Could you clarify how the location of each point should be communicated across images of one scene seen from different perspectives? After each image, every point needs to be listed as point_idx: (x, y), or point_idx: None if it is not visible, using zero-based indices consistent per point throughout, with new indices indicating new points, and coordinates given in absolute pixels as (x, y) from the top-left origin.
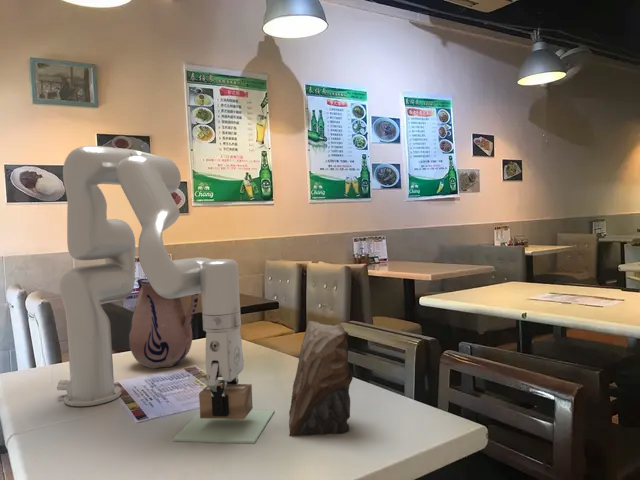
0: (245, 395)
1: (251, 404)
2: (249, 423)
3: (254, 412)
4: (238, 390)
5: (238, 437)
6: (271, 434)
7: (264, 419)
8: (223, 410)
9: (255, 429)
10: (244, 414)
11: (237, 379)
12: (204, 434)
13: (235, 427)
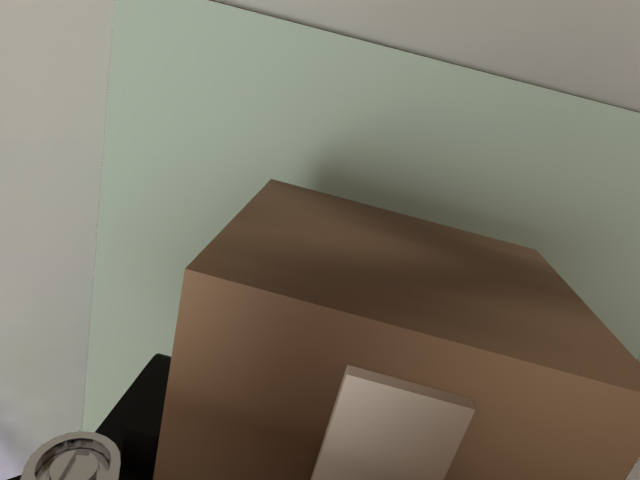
0: (529, 331)
1: (295, 199)
2: (379, 187)
3: (156, 151)
4: (472, 455)
5: (630, 261)
6: (615, 3)
7: (317, 67)
8: None
9: (516, 140)
10: (539, 261)
11: (36, 477)
12: None
13: None
